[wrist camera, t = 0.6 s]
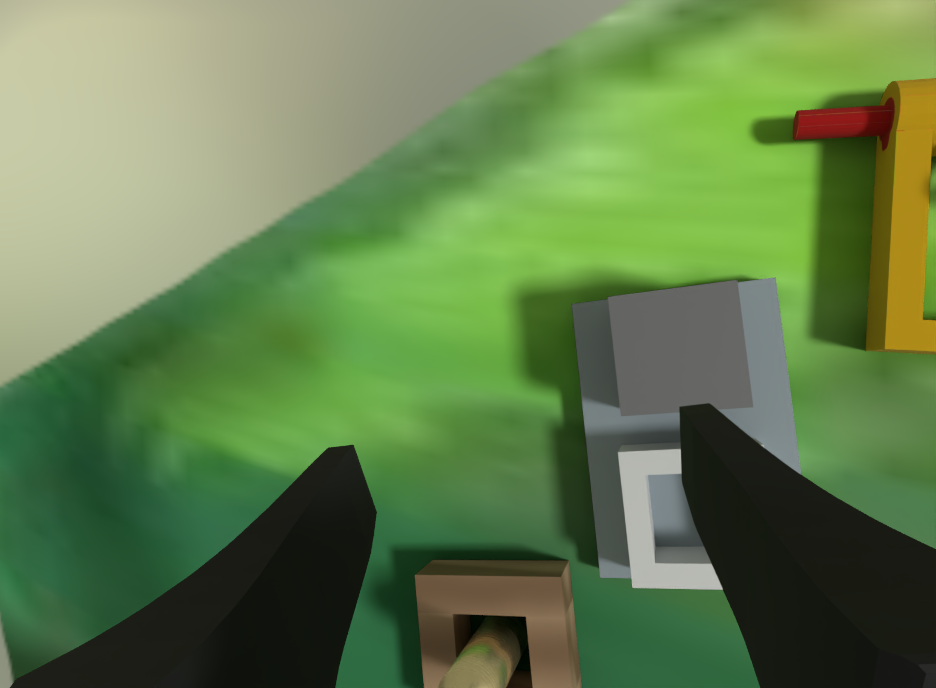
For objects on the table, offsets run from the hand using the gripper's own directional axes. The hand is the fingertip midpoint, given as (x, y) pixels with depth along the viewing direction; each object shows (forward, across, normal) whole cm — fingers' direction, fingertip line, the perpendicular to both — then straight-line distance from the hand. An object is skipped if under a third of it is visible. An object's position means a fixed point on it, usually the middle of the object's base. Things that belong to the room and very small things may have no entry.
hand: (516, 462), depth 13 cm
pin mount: (+14, +4, +25) cm, 29 cm away
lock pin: (+14, +4, +25) cm, 29 cm away
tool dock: (+18, -8, +14) cm, 24 cm away
